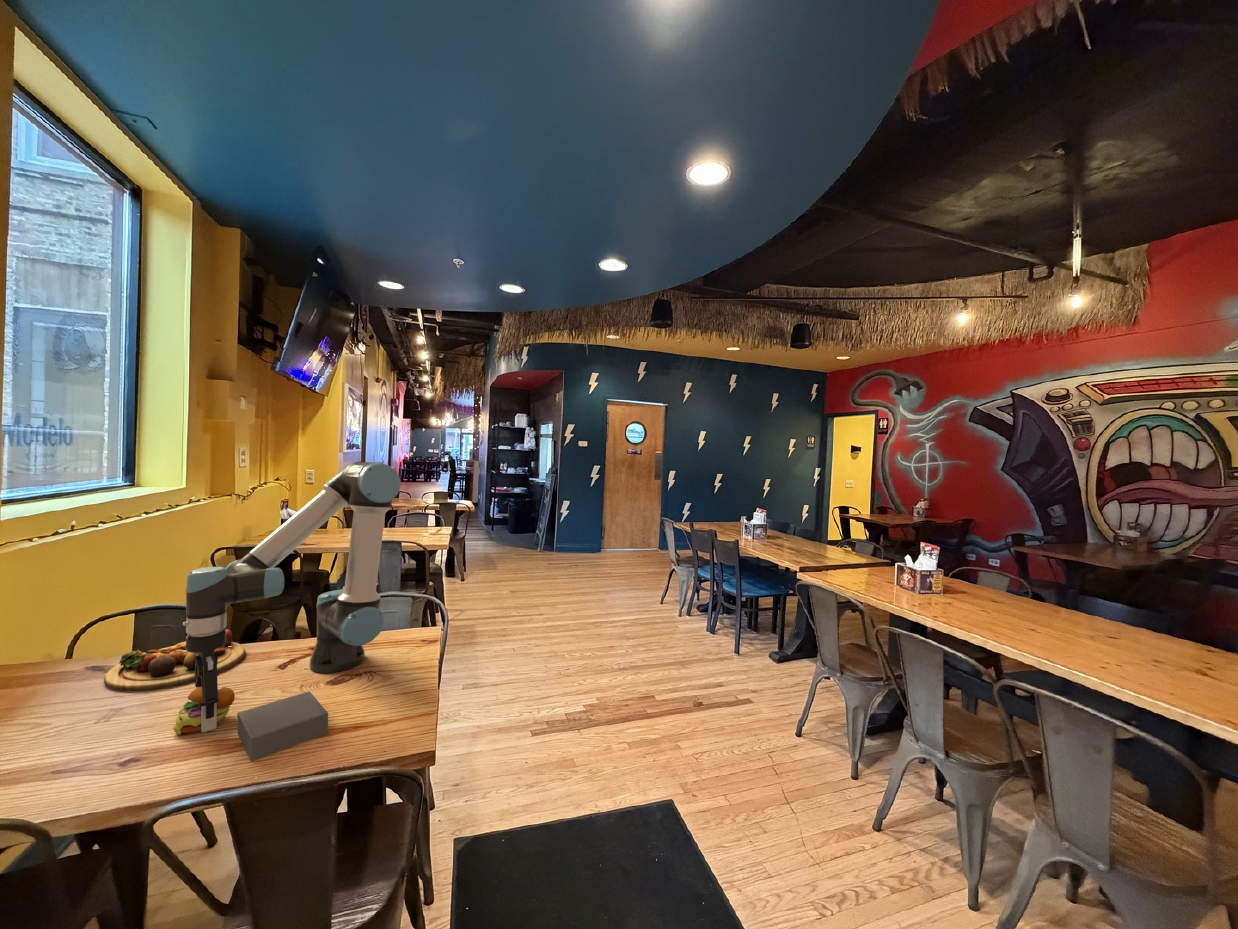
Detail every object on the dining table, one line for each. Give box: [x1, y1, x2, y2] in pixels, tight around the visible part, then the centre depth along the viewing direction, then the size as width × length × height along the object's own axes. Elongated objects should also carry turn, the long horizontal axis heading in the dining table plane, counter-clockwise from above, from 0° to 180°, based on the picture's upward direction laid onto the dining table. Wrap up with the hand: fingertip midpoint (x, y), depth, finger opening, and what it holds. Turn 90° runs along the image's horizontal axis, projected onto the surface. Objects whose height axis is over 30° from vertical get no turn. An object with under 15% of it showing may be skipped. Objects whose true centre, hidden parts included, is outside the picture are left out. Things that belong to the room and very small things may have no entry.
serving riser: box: [236, 690, 329, 762], centre depth 116 cm, size 15×15×5 cm
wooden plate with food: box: [103, 629, 246, 692], centre depth 149 cm, size 32×32×8 cm
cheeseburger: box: [173, 686, 236, 735], centre depth 119 cm, size 10×11×10 cm
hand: (205, 721), depth 119 cm, fingers closed on cheeseburger, 10 cm apart
